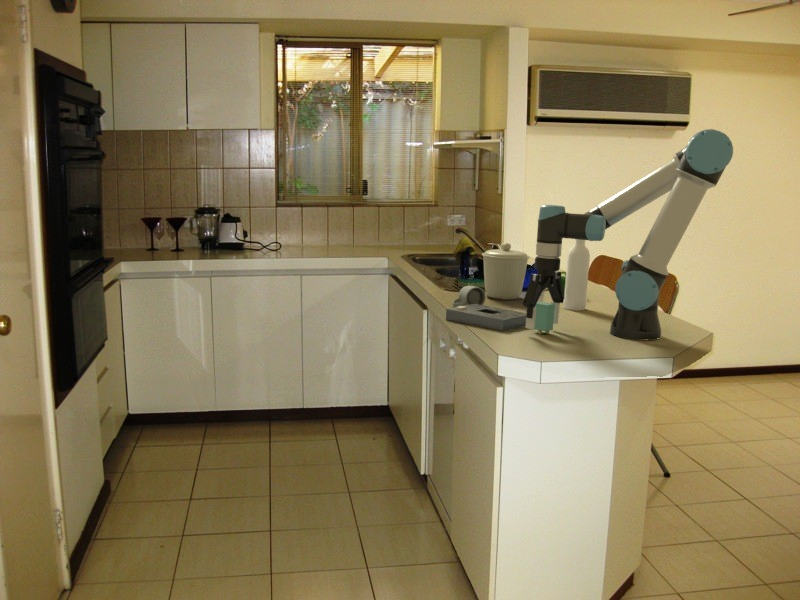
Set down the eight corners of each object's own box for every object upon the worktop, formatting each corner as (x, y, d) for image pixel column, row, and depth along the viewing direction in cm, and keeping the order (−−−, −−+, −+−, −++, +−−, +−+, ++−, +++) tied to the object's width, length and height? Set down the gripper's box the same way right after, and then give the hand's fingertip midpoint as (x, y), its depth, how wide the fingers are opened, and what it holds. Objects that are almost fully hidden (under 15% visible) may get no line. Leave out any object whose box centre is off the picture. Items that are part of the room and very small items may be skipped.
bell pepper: (579, 299, 306) (581, 273, 305) (560, 299, 304) (562, 273, 303) (570, 295, 314) (572, 270, 313) (551, 295, 312) (553, 270, 311)
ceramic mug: (475, 304, 284) (476, 283, 283) (485, 308, 277) (486, 287, 275) (448, 305, 280) (449, 284, 279) (457, 309, 273) (458, 288, 272)
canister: (527, 295, 308) (531, 242, 305) (526, 303, 291) (530, 246, 287) (480, 292, 311) (484, 239, 308) (477, 299, 294) (480, 243, 290)
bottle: (570, 311, 280) (578, 226, 274) (558, 306, 287) (565, 224, 282) (589, 310, 283) (597, 227, 277) (577, 306, 290) (584, 224, 285)
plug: (552, 333, 240) (554, 304, 238) (545, 335, 237) (548, 305, 235) (538, 330, 243) (540, 301, 242) (531, 332, 240) (533, 302, 239)
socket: (530, 324, 252) (531, 311, 251) (502, 331, 240) (503, 317, 239) (474, 313, 266) (475, 301, 265) (445, 319, 254) (446, 306, 253)
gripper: (558, 253, 248) (552, 318, 251) (514, 257, 229) (508, 328, 233) (579, 255, 243) (573, 323, 247) (536, 260, 224) (530, 333, 228)
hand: (541, 326), depth 240 cm, fingers open, 13 cm apart
